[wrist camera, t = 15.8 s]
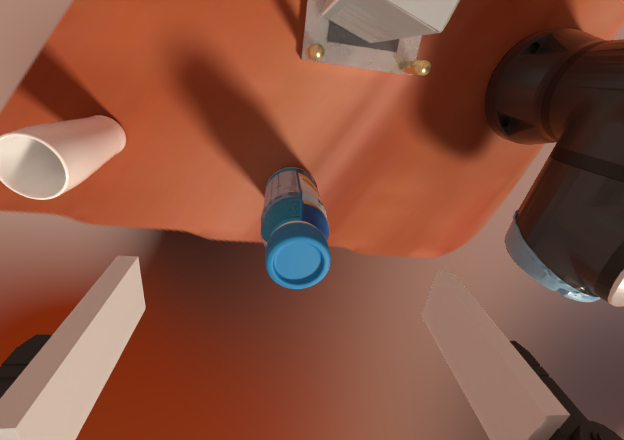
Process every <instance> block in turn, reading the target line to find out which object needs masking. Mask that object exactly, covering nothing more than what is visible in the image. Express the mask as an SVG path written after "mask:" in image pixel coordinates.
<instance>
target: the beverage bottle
mask: <svg viewBox="0 0 624 440" xmlns="http://www.w3.org/2000/svg"><path fill="white" fill-rule="evenodd" d="M328 236H329V224H328V220H327V215H326V211H325V208H324V206H323V204H322V202H321V199H320V196H319V193H318V189H317V185H316V182H315V180H314V179H313V177H312V176H311V175H310V174H309V173H308V172H306V171H305V170H303V169H300V168H296V167H287V168H283V169H280V170H278V171H276V172H275V173H274V174H273V175H272V176H271V177H270V178H269V180H268V182H267V184H266V188H265V200H264V208H263V211H262V215H261V237H262V240H263V243H264V245H265V247H266V255H265V263H266V268H267V271H268V273H269V275H270V277H271V278H272V279H273V280H274V281H275V282H276V283H278V284H279V285H281V286H283V287H287V288H291V289H302V288H307V287H310V286H313V285H315V284H316V283H318V282H319V281H320V280H322V279H323V278H324V276H325V275H326V274H327V272H328V270H329V267H330V259H331V258H330V257H331V256H330V251H329V247H328V244H327V240H328Z"/></svg>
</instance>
